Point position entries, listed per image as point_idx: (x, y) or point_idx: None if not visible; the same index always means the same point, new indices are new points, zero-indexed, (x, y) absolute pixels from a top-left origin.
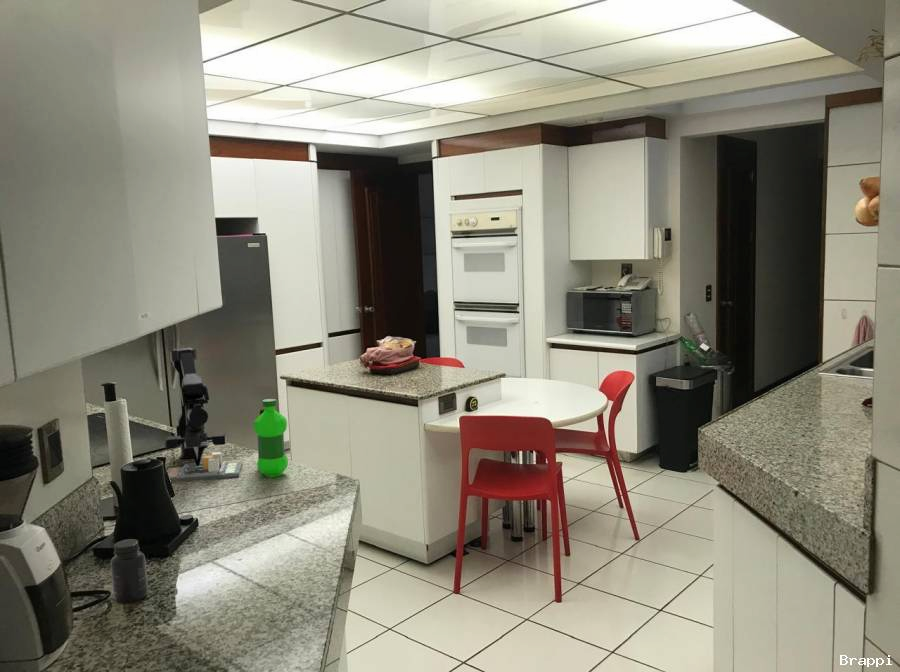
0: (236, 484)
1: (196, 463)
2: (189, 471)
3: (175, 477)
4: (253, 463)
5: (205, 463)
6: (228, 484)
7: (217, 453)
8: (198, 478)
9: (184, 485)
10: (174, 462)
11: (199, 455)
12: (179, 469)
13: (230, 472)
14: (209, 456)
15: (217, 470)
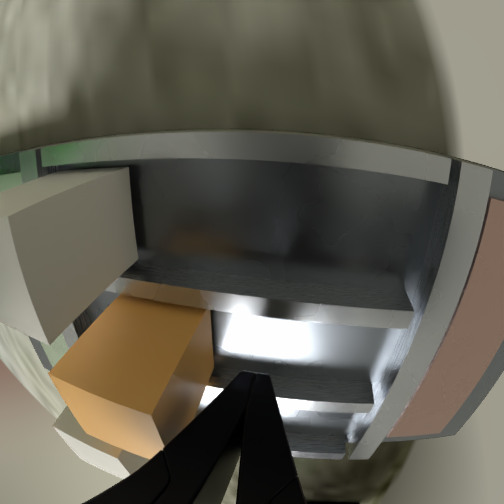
0: (7, 15)
1: (265, 394)
2: (360, 301)
3: (496, 199)
4: (34, 360)
5: (148, 352)
6: (34, 6)
7: (85, 451)
8: (248, 129)
9: (382, 6)
10: (384, 488)
11: (176, 475)
12: (417, 406)
13: (5, 180)
14: (104, 432)
15: (41, 178)
